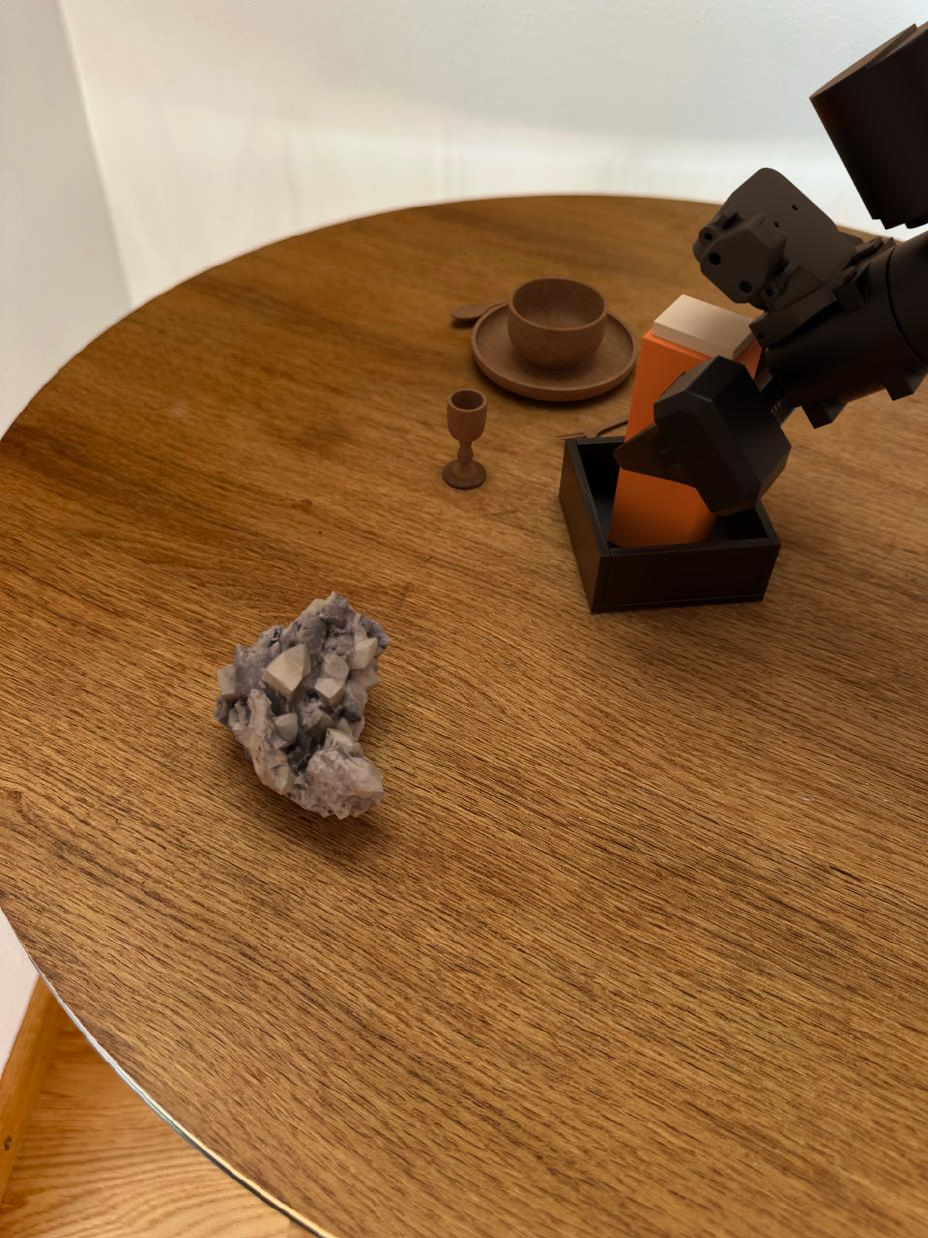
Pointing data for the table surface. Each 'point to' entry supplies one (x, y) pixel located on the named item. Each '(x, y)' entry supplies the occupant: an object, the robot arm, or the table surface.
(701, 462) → the robot arm
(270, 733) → the mineral specimen
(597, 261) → the table surface
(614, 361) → the place setting
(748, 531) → the open black square box
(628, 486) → the block
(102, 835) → the table surface
